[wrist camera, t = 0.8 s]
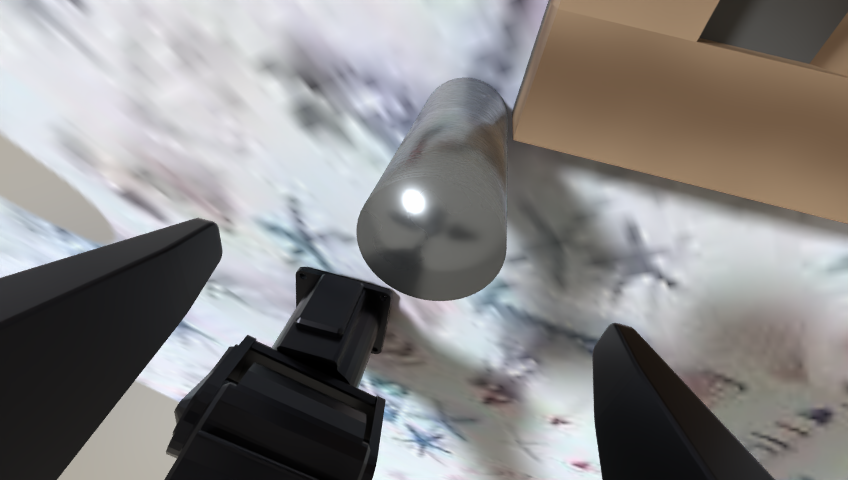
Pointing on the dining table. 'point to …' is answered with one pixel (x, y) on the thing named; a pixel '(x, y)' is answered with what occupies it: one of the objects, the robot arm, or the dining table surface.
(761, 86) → the walnut block
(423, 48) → the dining table surface
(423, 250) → the metal pin
